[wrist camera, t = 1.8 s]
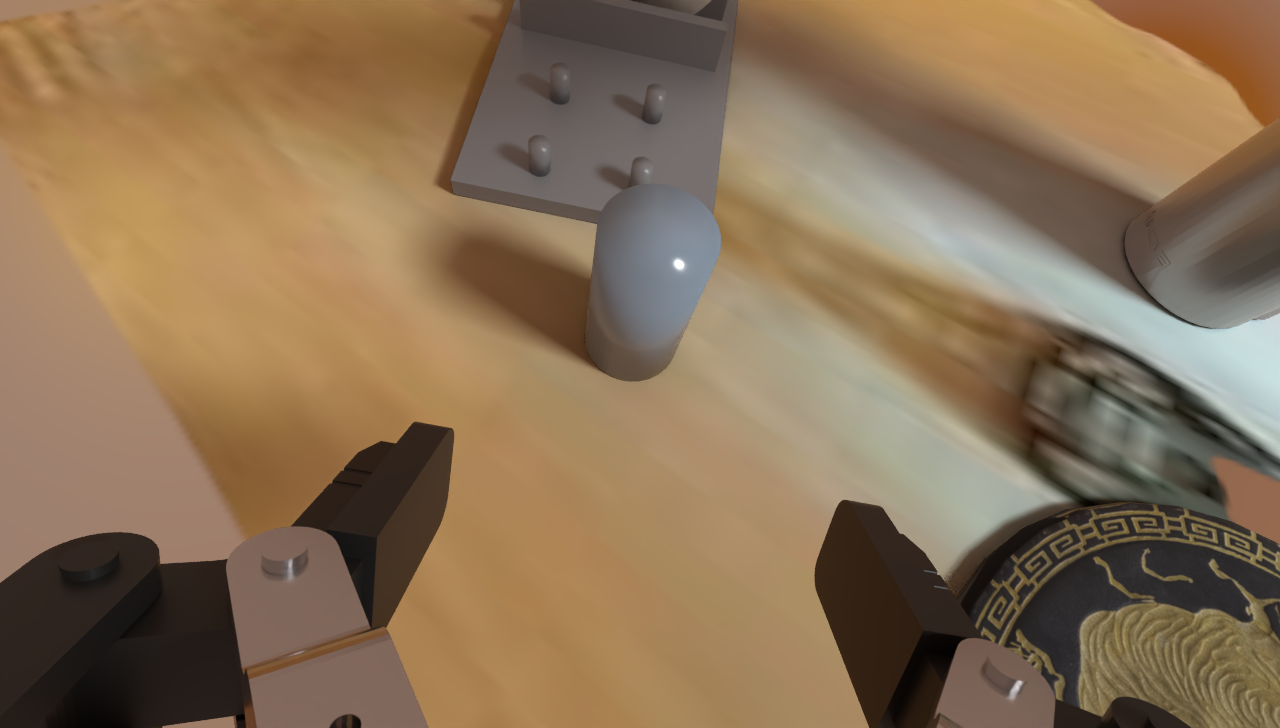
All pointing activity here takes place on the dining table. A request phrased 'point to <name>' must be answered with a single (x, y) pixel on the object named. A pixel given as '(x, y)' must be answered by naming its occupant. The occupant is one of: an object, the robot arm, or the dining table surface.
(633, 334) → the grey dome-topped cylinder
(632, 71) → the dish rack
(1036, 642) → the decorative plate
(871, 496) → the dining table surface
